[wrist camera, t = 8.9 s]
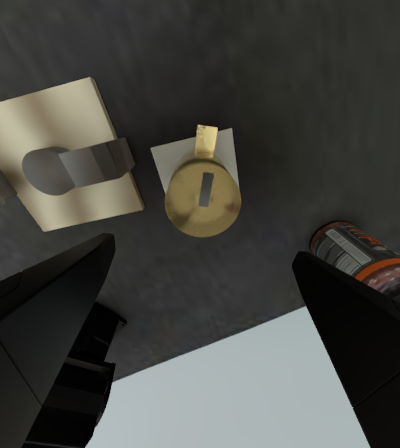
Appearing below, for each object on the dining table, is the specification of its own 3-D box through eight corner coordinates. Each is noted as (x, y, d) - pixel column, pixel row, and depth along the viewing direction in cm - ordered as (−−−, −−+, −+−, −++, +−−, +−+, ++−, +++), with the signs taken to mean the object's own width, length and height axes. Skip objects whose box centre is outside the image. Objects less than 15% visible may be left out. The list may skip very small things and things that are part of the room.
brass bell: (217, 222, 23) (226, 263, 16) (169, 217, 22) (161, 257, 16) (236, 130, 18) (261, 137, 12) (176, 121, 17) (168, 122, 11)
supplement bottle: (365, 228, 24) (484, 303, 14) (333, 262, 27) (415, 345, 17) (328, 213, 23) (431, 284, 13) (299, 250, 26) (366, 333, 16)
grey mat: (173, 218, 22) (173, 219, 22) (150, 147, 19) (150, 148, 18) (240, 203, 22) (241, 204, 22) (231, 128, 18) (231, 128, 18)
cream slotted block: (40, 230, 23) (0, 259, 18) (-44, 117, 17) (-135, 116, 12) (153, 204, 22) (142, 229, 17) (105, 75, 16) (68, 57, 11)
